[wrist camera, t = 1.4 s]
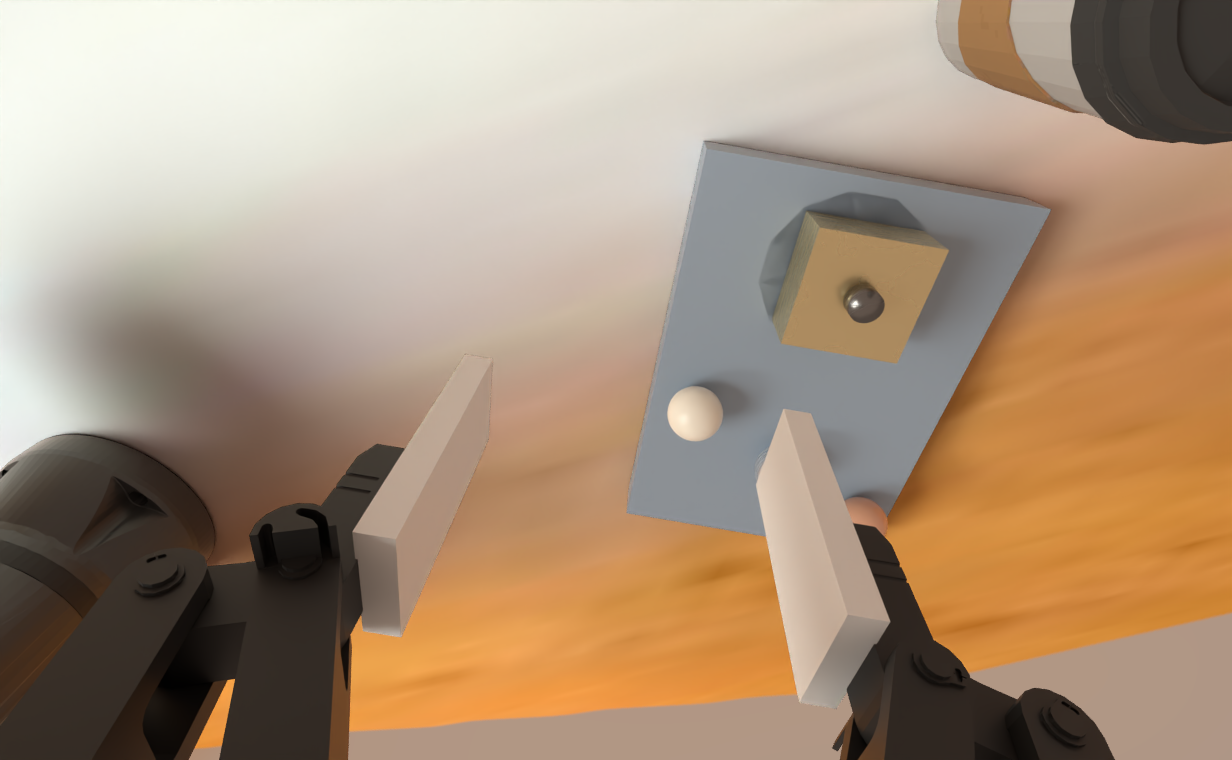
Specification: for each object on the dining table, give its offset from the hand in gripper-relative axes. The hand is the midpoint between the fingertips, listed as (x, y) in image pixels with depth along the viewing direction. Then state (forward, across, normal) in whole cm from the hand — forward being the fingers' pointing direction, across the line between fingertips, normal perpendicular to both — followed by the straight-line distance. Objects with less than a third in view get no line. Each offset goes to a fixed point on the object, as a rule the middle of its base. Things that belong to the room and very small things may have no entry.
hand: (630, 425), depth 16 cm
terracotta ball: (+15, +16, -15) cm, 27 cm away
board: (+19, +10, -7) cm, 23 cm away
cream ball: (+15, +4, -9) cm, 18 cm away
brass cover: (+17, +10, 0) cm, 20 cm away
